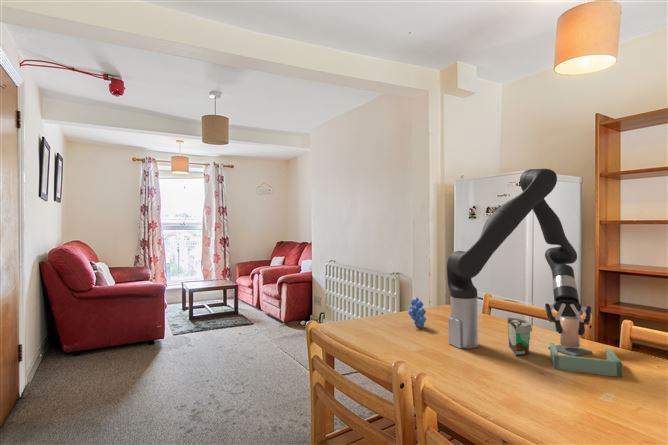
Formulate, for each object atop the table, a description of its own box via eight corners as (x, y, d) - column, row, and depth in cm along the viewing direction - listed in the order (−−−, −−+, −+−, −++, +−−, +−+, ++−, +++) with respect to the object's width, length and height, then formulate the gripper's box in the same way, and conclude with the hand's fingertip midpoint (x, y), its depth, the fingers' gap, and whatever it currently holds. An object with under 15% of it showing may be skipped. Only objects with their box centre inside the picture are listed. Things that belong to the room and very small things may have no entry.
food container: (537, 359, 122) (537, 327, 121) (517, 357, 123) (516, 326, 123) (526, 346, 134) (526, 317, 134) (507, 345, 135) (507, 317, 135)
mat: (573, 357, 122) (573, 355, 122) (548, 348, 131) (548, 346, 131) (592, 353, 126) (592, 351, 126) (566, 345, 134) (566, 343, 134)
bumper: (622, 377, 107) (621, 362, 107) (554, 368, 113) (554, 355, 113) (611, 361, 118) (610, 348, 118) (550, 354, 125) (550, 342, 125)
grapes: (402, 323, 166) (402, 296, 166) (417, 322, 167) (416, 295, 167) (414, 331, 154) (414, 301, 154) (429, 329, 156) (429, 300, 156)
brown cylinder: (572, 348, 125) (571, 320, 125) (556, 343, 130) (555, 316, 130) (583, 345, 127) (583, 318, 127) (567, 340, 132) (567, 314, 132)
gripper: (542, 283, 138) (546, 325, 127) (590, 285, 132) (598, 329, 121) (542, 295, 143) (545, 336, 132) (587, 298, 137) (595, 341, 126)
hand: (570, 333), depth 127 cm, fingers closed on brown cylinder, 5 cm apart
